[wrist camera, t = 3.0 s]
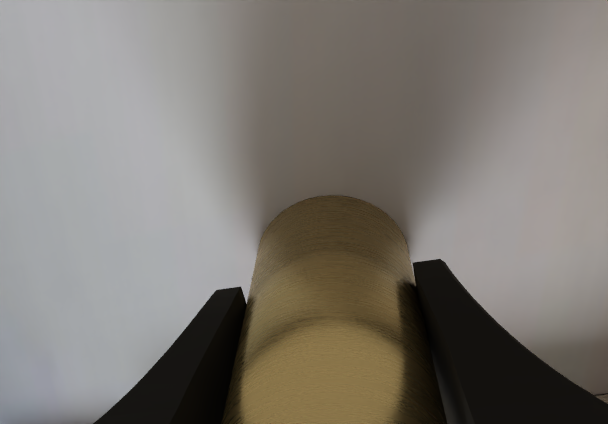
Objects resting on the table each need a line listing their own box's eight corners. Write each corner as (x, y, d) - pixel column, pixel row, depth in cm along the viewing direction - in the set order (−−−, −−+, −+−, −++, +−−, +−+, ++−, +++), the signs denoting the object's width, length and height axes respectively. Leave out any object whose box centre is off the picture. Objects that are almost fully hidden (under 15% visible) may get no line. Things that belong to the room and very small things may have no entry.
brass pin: (399, 183, 13) (457, 418, 7) (415, 310, 15) (474, 583, 9) (241, 208, 14) (169, 447, 8) (275, 328, 16) (241, 596, 10)
